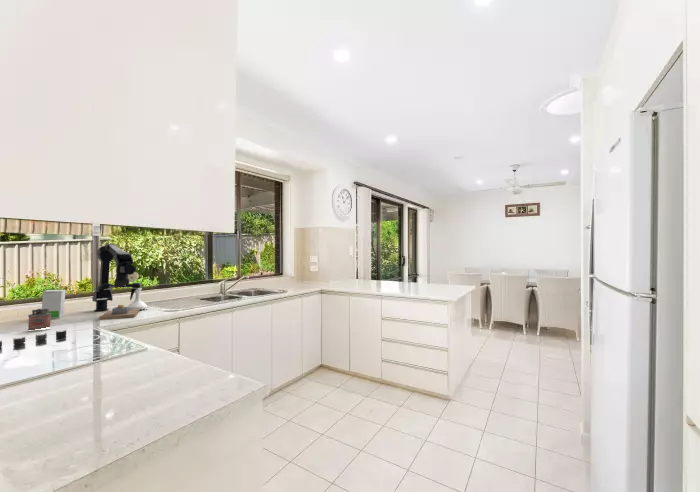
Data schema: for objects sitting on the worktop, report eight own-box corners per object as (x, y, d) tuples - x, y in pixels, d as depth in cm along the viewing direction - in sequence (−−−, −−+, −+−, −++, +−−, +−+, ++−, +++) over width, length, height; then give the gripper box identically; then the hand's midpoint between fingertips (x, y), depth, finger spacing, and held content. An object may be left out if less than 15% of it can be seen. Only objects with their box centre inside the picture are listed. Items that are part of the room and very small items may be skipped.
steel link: (114, 312, 187) (114, 307, 188) (128, 311, 191) (129, 306, 191) (112, 314, 181) (112, 309, 181) (126, 313, 184) (126, 308, 184)
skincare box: (40, 319, 172) (41, 291, 172) (45, 317, 178) (46, 289, 178) (60, 318, 176) (61, 290, 176) (64, 316, 182) (65, 289, 182)
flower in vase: (147, 307, 213) (148, 270, 214) (147, 310, 204) (148, 271, 205) (123, 309, 206) (125, 271, 207) (122, 312, 197) (124, 272, 198)
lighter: (26, 331, 146) (26, 309, 146) (29, 330, 149) (30, 308, 149) (48, 330, 149) (49, 308, 149) (52, 328, 152) (52, 307, 152)
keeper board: (107, 313, 191) (108, 303, 191) (139, 311, 198) (139, 302, 199) (99, 319, 173) (99, 308, 174) (134, 317, 181) (134, 306, 181)
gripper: (98, 275, 175) (97, 303, 175) (139, 274, 184) (138, 301, 183) (103, 274, 185) (102, 300, 185) (141, 273, 194) (140, 299, 193)
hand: (121, 300), depth 186 cm, fingers open, 9 cm apart
